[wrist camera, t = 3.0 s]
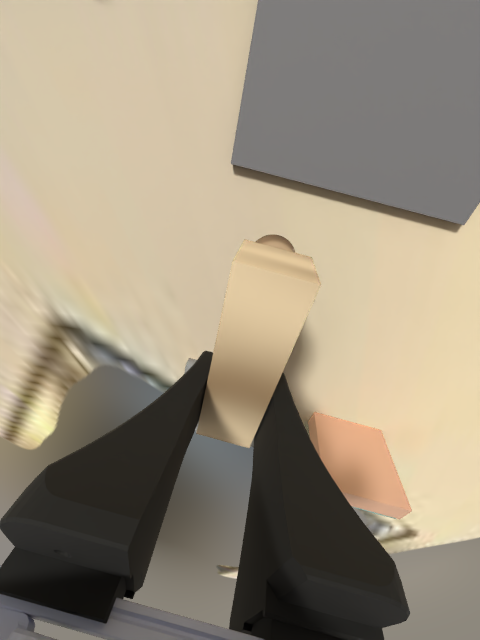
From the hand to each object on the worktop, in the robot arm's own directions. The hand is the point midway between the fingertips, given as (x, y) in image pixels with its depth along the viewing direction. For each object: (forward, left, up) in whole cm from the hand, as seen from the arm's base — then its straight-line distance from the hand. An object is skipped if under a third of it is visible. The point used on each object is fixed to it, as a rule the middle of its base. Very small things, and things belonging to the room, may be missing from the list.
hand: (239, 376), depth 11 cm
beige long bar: (0, +1, -2) cm, 2 cm away
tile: (-12, +12, -9) cm, 20 cm away
